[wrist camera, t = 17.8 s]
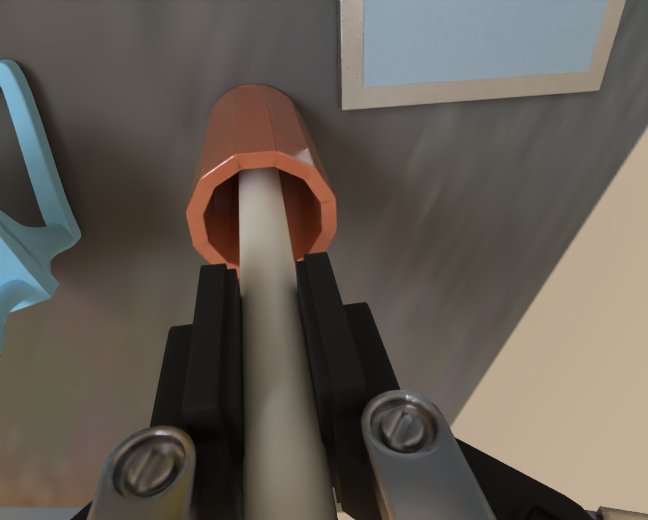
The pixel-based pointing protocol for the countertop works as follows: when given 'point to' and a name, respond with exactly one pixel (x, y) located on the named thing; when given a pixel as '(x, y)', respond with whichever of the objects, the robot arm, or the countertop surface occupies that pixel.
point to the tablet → (470, 49)
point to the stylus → (276, 368)
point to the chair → (61, 227)
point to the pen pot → (258, 152)
